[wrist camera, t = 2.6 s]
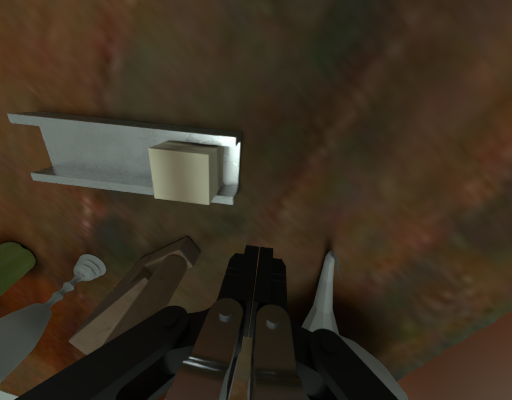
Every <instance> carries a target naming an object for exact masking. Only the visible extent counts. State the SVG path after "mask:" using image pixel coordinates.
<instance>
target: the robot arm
mask: <svg viewBox="0 0 512 400" xmlns="http://www.w3.org/2000/svg"><path fill="white" fill-rule="evenodd" d="M258 252H259V247H257V246H250V245H246V248H245V253H244V254H238V253H235V254H234V255H233V256H232V257H231V258H230V260H229V263H228V267H227V270H226V274H225V276H224V279H223V283H222V286H221V289H220V292H219V296H218V298H217V301H216V302H215V303H214V304H213V305H212V306H211V307H210V308H208V309H206V310H204V311H201V312H195V313H189V314H188V313H187V311H186V310H185V309H184V308H182V307H180V306H168V307H165V308H163V309H161V310H160V311H158V312H156V313H155V314H153V315H152V316H150V317H148V318H147V319H145V320H143V321H142V322H140V323H138V324H137V325H135V326H134V327H132V328H130V329H129V330H127V331H125V332H124V333H122V334H121V335H119V336H117V337H116V338H114V339H112V340H111V341H109V342H107V343H106V344H104V345H103V346H101V347H99V348H98V349H96V350H94V351H93V352H91V353H90V354H88V355H86V356H85V357H83V358H81V359H80V360H78V361H77V362H75V363H73V364H72V365H70V366H68V367H67V368H65V369H63V370H62V371H60V372H59V373H57V374H55V375H54V376H52V377H50V378H49V379H47V380H46V381H44V382H42V383H41V384H39V385H37V386H36V387H34V388H32V389H31V390H29V391H28V392H26V393H24V394H23V395H21V396H19V397H18V398H16V399H15V400H156V399H158V398H159V397H160V396H161V395H162V394H163V393H164V392H165V391H167V390H168V389H169V388H170V387H171V388H170V390H169V392H168V395H167V397H166V399H165V400H229V397H230V393H231V388H232V384H233V380H234V375H235V371H236V367H237V362H238V358H239V353H240V351H241V347H242V340H243V336H245V337H248V330H249V323H250V315H251V308H252V316H251V324H250V333H249V337H253V345H252V354H251V370H250V395H249V400H399V399H398V398H397V397H396V396H395V395H394V394H393V393H392V392H391V391H390V390H389V389H388V388H387V386H386V385H385V384H384V383H383V382H382V381H381V380H380V379H379V378H378V377H377V376H376V375H375V374H374V373H373V372H372V370H371V369H370V368H369V367H368V366H367V365H366V364H365V363H364V362H363V361H362V360H361V359H360V358H359V357H358V355H357V354H356V353H355V352H354V351H353V350H352V349H351V348H350V347H349V346H348V345H347V344H346V343H345V342H344V341H343V339H342V338H341V337H340V336H339V335H337V334H336V333H335V332H333V331H331V330H329V329H324V328H320V329H317V330H315V331H314V332H311V331H309V330H307V329H305V328H303V327H301V326H299V325H298V324H296V323H295V322H294V321H293V320H292V318H291V317H290V315H289V313H288V309H287V286H286V266H285V264H284V262H283V261H282V259H276V258H273V248H265V247H260V253H259V260H258ZM257 261H258V268H257ZM256 270H257V276H256ZM255 278H256V283H255ZM254 285H255V291H254ZM253 293H254V299H253ZM252 300H253V307H252Z"/></svg>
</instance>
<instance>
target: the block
mask: <svg viewBox="0 0 512 400" xmlns="http://www.w3.org/2000/svg"><path fill="white" fill-rule="evenodd" d="M148 151H149V159H150V166H151V173H152V181H153V188H154V196H155V198H158V199H166V200H174V201H182V202H190V203H198V204H206V205H209V204H210V203H211V201H212V200H213V198H214V197H215V195H216V194H217V192H218V191H219V189H220V188H221V186H222V185H223V146H220V145H211V144H202V143H192V142H183V141H174V140H168V141H165V142H163V143H160V144H157V145H155V146H152V147H150V148H148Z"/></svg>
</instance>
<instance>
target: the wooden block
mask: <svg viewBox="0 0 512 400" xmlns="http://www.w3.org/2000/svg"><path fill="white" fill-rule="evenodd" d="M199 254H200V251H199V250H198V248H197V247H196V246H195V245H194V243H193V242H192V241H191V240H190V238H189V237H185V238H183V239H181V240H179V241H177V242H174V243H172V244H170V245H168V246H166V247H164V248H162V249H160V250H157V251H155V252H153V253H151V254H149V255H147V256H145V257H142V258H140V260H139V261H138V262H137V263H136V264H135V265H134V266H133V268H132V269H131V270H130V271H129V272H128V273H127V275H126V276H125V277H124V278H123V279H122V280H121V281H120V283H119V284H118V285H117V286H116V287H115V288H114V290H113V291H111V292H110V293H109V294H108V296H107V297H106V298H105V299H104V300H103V301H102V303H101V304H100V305H99V306H98V307H97V308H96V309H95V311H94V312H93V313H92V314H91V315H90V316H89V317H88V319H87V320H86V321H85V322H84V323H83V324H82V326H81V327H80V328H79V329H78V330H77V331H76V332H75V334H74V335H73V336H72V337H71V338H70V339H69V342H70V343H71V344H72V345H74V346H75V347H76V348H78V349H79V350H80V351H82V352H83V353H84V354H86V355H88V354H90V353H91V352H93V351H94V350H96V349H98V348H99V347H101V346H103V345H104V344H106V343H107V342H109V341H111V340H112V339H114V338H116V337H117V336H119V335H121V334H122V333H124V332H125V331H127V330H129V329H130V328H132V327H134V326H135V325H137V324H138V323H140V322H142V321H143V320H145V319H147V318H148V317H150V316H152V315H153V314H155V313H156V312H158V311H160V310H161V309H163V308H165V307H167V305H168V303H169V301H170V299H171V297H172V296H173V294H174V292H175V290H176V288H177V286H178V285H179V283H180V281H181V279H182V277H183V275H184V274H185V272H186V270H187V269H189V268H191V267H193V265H194V263H195V262H196V260H197V258H198V256H199Z"/></svg>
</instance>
